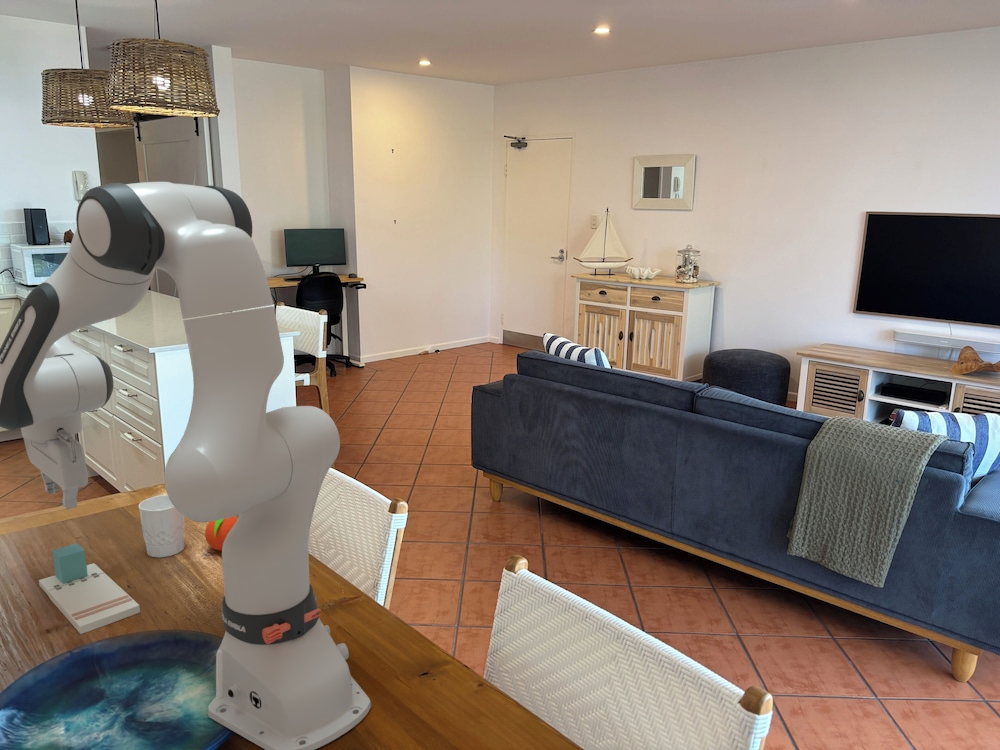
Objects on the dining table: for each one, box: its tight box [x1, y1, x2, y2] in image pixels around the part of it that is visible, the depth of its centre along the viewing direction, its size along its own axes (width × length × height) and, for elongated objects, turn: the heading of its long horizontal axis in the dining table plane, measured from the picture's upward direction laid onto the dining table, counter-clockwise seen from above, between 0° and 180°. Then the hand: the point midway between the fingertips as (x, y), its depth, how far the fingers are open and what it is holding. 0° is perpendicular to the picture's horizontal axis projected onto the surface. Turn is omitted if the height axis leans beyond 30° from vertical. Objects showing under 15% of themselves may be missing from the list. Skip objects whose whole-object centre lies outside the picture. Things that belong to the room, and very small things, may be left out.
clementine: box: [204, 516, 238, 552], centre depth 143 cm, size 8×7×7 cm
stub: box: [38, 542, 105, 597], centre depth 130 cm, size 5×9×6 cm, turn 137°
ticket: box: [48, 572, 141, 635], centre depth 124 cm, size 16×9×1 cm, turn 47°
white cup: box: [138, 494, 186, 559], centre depth 143 cm, size 8×8×10 cm
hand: (61, 499), depth 127 cm, fingers open, 8 cm apart
